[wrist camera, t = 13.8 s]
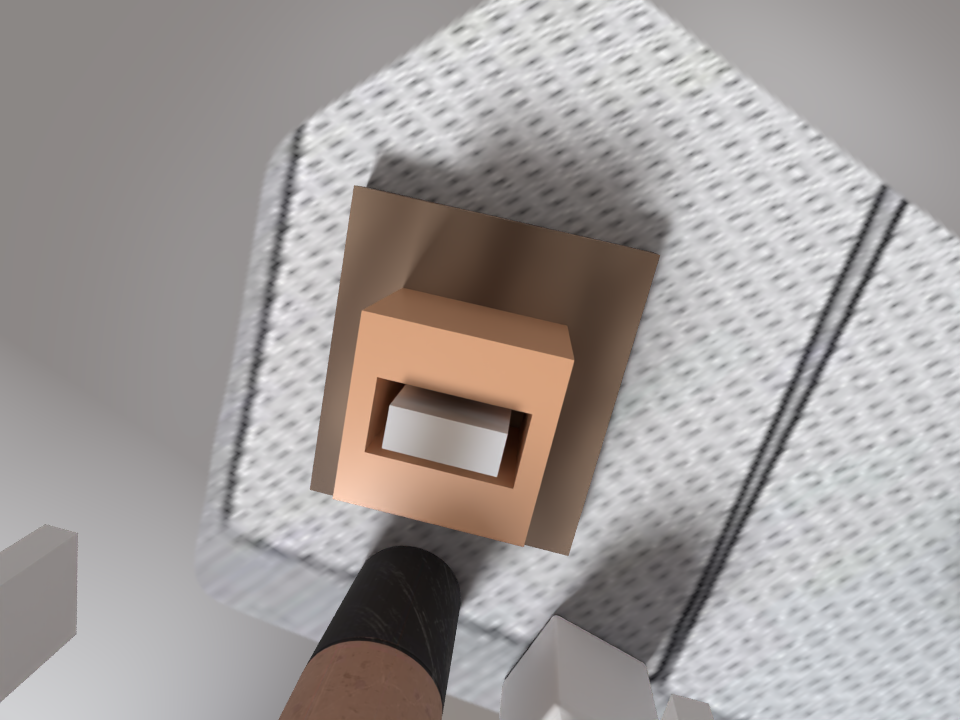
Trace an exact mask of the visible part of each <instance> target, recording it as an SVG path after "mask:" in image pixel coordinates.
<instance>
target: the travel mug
mask: <svg viewBox="0 0 960 720" xmlns="http://www.w3.org/2000/svg"><path fill="white" fill-rule="evenodd" d="M459 609H460V589H459V585H458V582H457V579H456V577H455V575H454V574H453V572H452V571H451V569H450V568H449V567H448V566H447V565H446V564H445V563H444V562H443V561H442V560H441V559H440V558H438V557H437V556H435V555H433V554H432V553H430V552H428V551H425V550H423V549H419V548H415V547H408V546H399V547H392V548H388V549H385V550H382V551H380V552H378V553H376V554H375V555H374V556H372V557H371V558H370V559H369V560H368V561H367V562H366V563H365V564H364V566H363V567H362V568H361V570H360V572H359V573H358V575H357V577H356V578H355V580H354V582H353V584H352V585H351V587H350V589H349V591H348V593H347V594H346V596H345V598H344V600H343V601H342V603H341V605H340V607H339V608H338V610H337V612H336V614H335V616H334V617H333V619H332V621H331V623H330V624H329V626H328V628H327V630H326V632H325V633H324V635H323V637H322V639H321V640H320V642H319V644H318V646H317V647H316V649H315V651H314V653H313V655H312V656H311V658H310V660H309V662H308V663H307V665H306V667H305V669H304V671H303V672H302V675H301V676H300V678H299V680H298V682H297V684H296V686H295V688H294V690H293V692H292V694H291V696H290V698H289V700H288V702H287V704H286V706H285V708H284V710H283V712H282V714H281V716H280V718H279V720H442V714H443V708H444V702H445V696H446V690H447V684H448V678H449V672H450V666H451V660H452V653H453V647H454V641H455V635H456V629H457V623H458V616H459Z"/></svg>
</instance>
